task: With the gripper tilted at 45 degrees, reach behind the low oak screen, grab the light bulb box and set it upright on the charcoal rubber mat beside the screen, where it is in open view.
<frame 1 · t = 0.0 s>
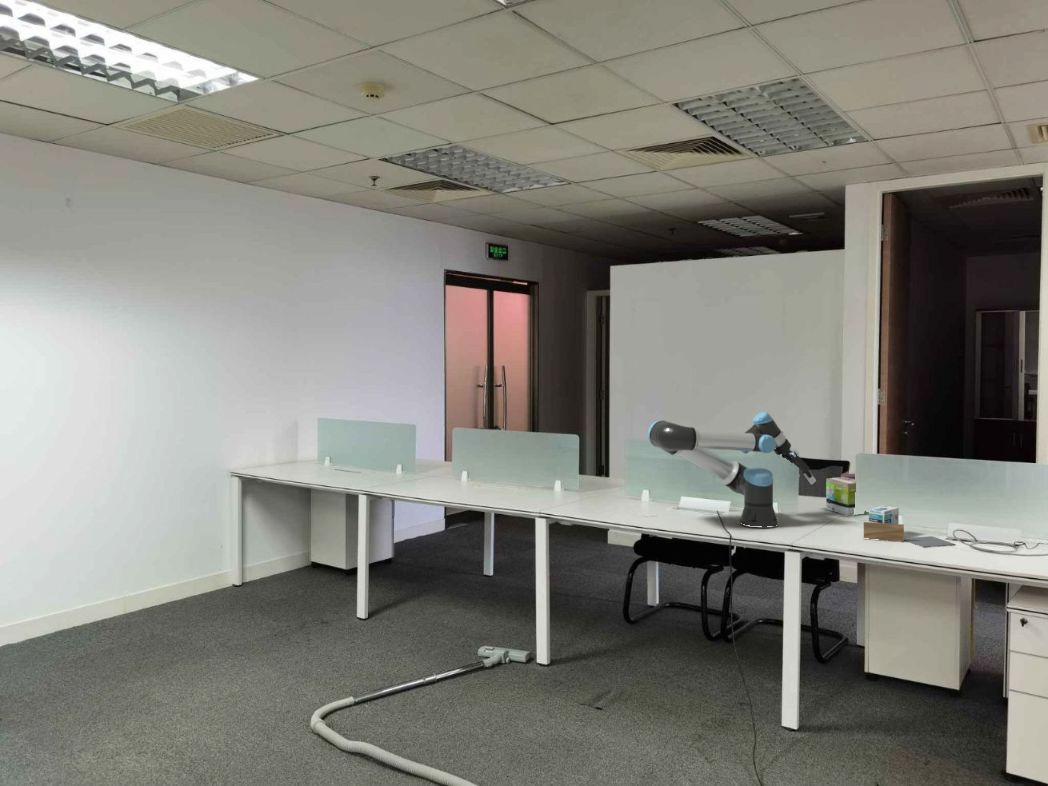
hand: (805, 480, 355), 15 cm above the table, tool tilted 35°, fingers open, 13 cm apart
greeting card: (847, 505, 375), on the table
charcoal mat: (927, 542, 301), on the table
oak screen: (883, 540, 306), on the table
tea box: (845, 512, 358), on the table
light bulb box: (883, 535, 314), on the table
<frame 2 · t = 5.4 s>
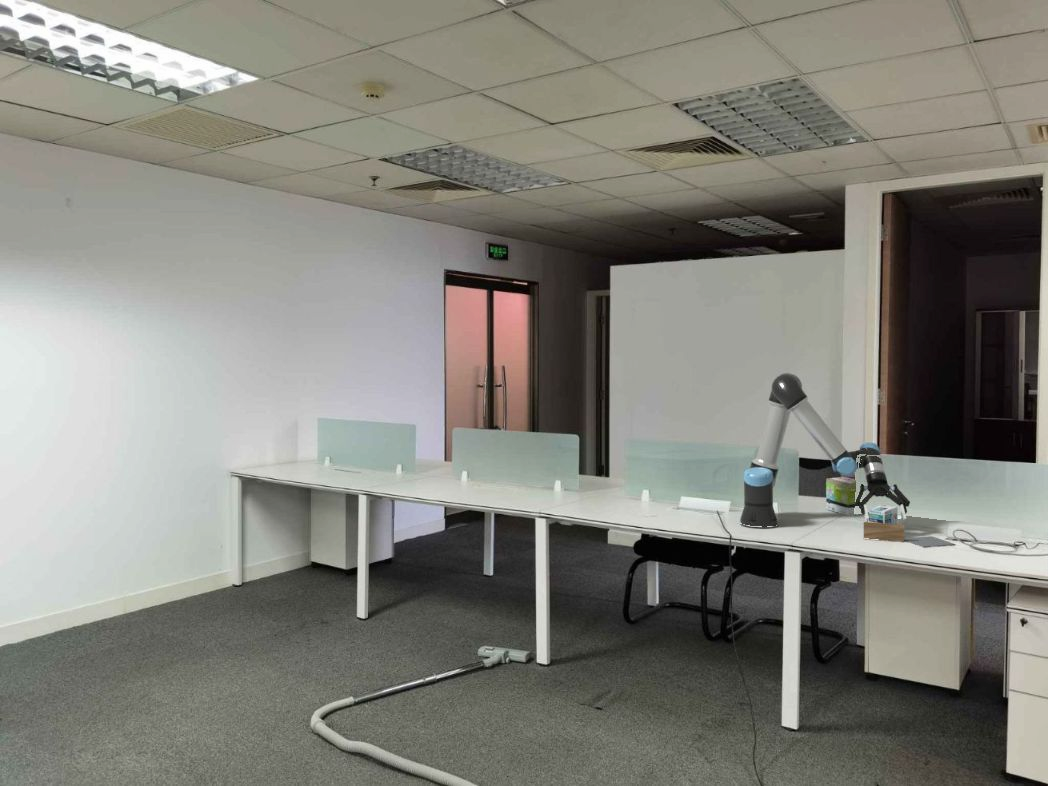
hand: (886, 520, 313), 6 cm above the table, tool tilted 45°, fingers open, 13 cm apart
light bulb box: (883, 535, 314), on the table, touching gripper
everything else where it was.
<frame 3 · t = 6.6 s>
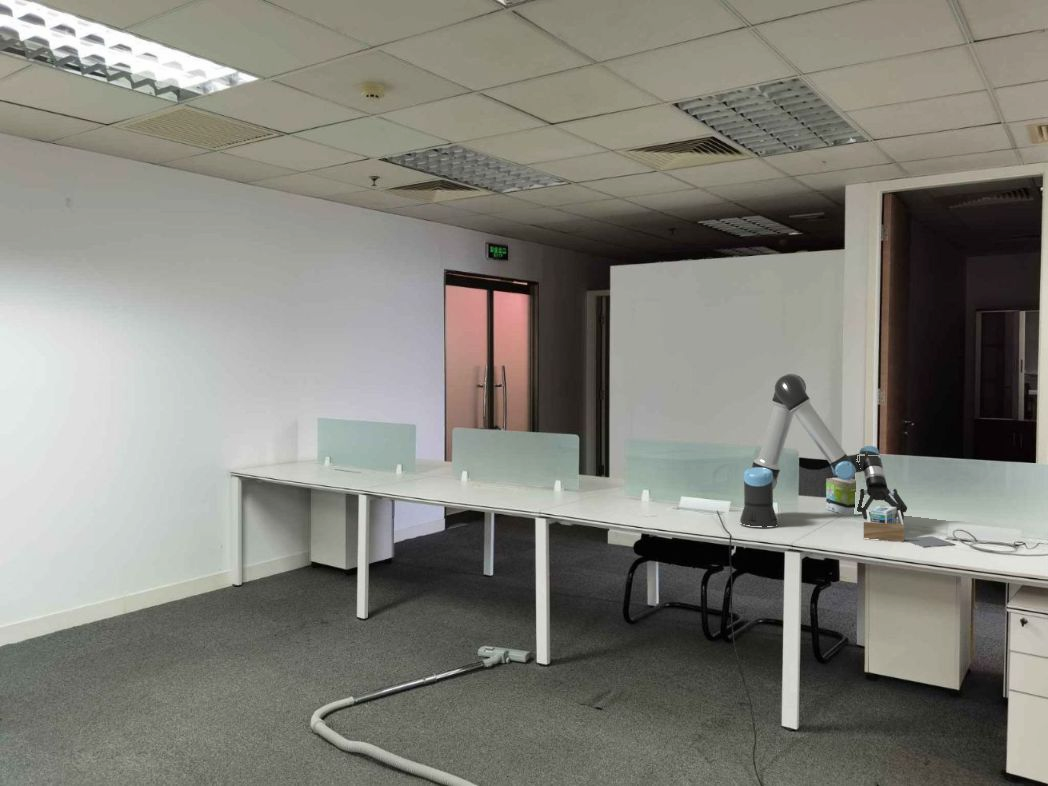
hand: (885, 526, 311), 4 cm above the table, tool tilted 45°, fingers closed on light bulb box, 11 cm apart
light bulb box: (883, 535, 314), on the table, touching gripper
everything else where it was.
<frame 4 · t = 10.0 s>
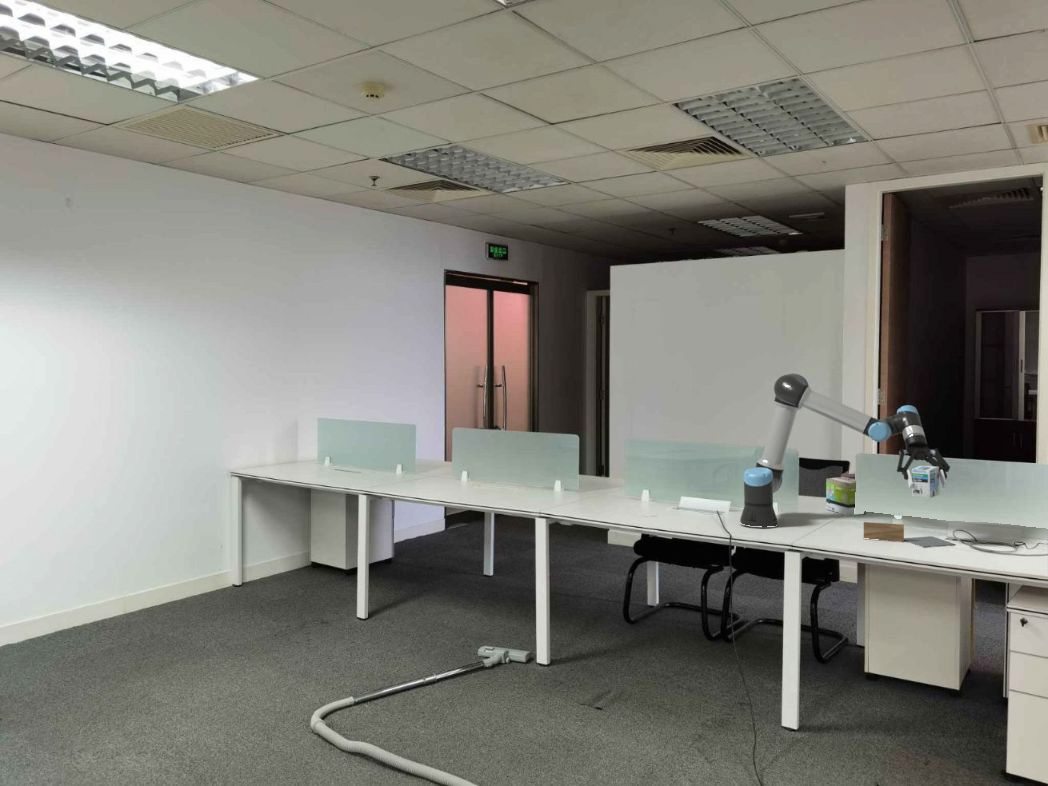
hand: (928, 485, 298), 22 cm above the table, tool tilted 45°, fingers closed on light bulb box, 11 cm apart
light bulb box: (925, 496, 301), point 17 cm above the table, touching gripper
everything else where it was.
when the fingers open (6 cm above the table, at t = 13.7 s): light bulb box drops 1 cm, resting on charcoal mat.
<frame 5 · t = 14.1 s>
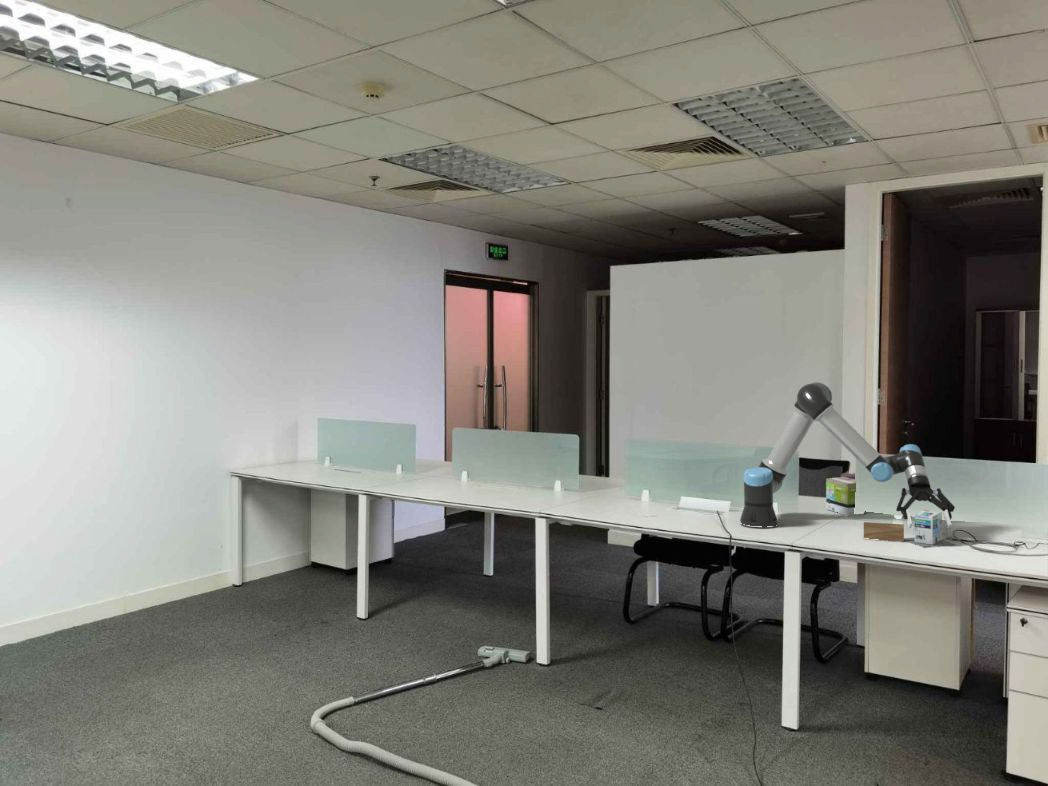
hand: (929, 526, 298), 7 cm above the table, tool tilted 45°, fingers open, 13 cm apart
light bulb box: (928, 541, 301), resting on charcoal mat
everything else where it was.
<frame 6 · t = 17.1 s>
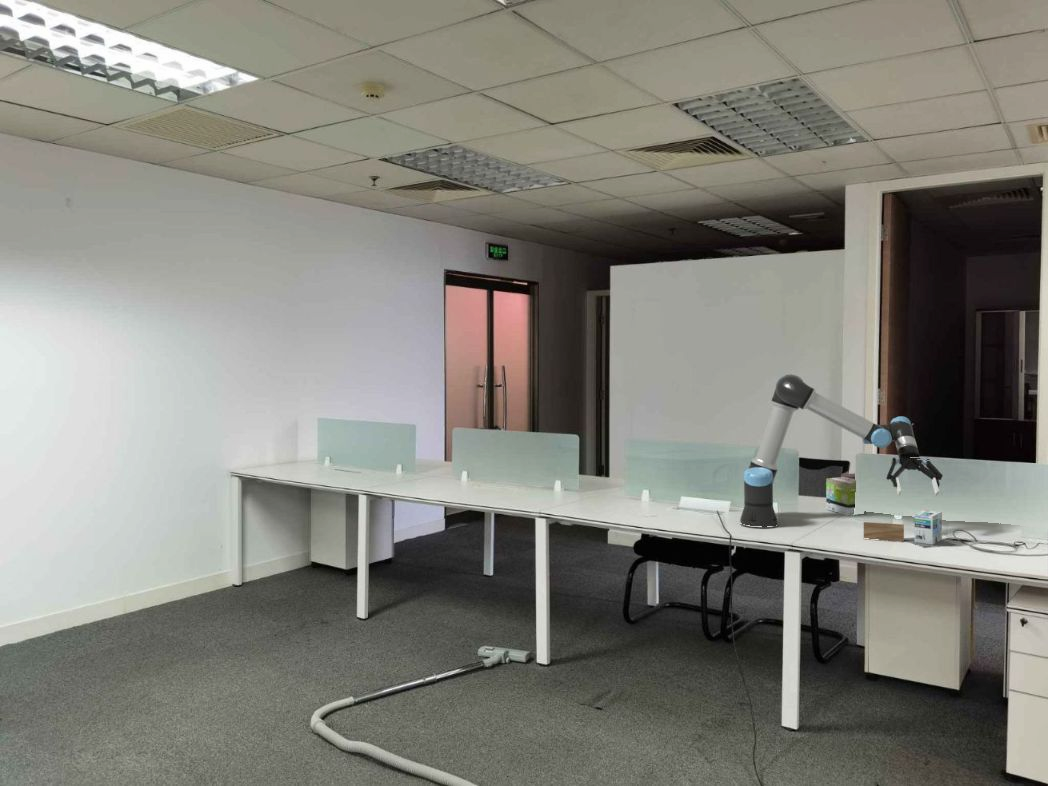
hand: (918, 493, 311), 17 cm above the table, tool tilted 45°, fingers open, 13 cm apart
nothing on the table moved.
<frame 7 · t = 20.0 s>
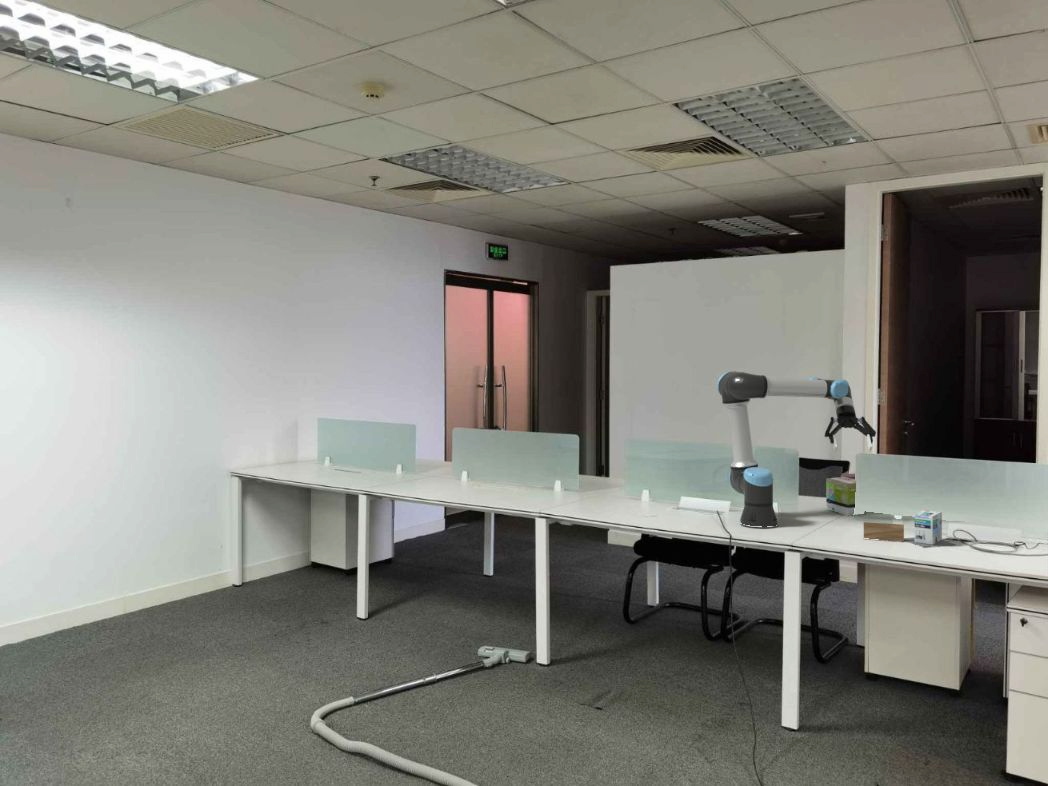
hand: (853, 448, 332), 32 cm above the table, tool tilted 45°, fingers open, 13 cm apart
nothing on the table moved.
at the end: light bulb box inside the target area on the charcoal mat (0.1 cm from its centre), point 0.2 cm above the charcoal mat's base; light bulb box tilted 0°; the gripper is holding nothing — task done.
